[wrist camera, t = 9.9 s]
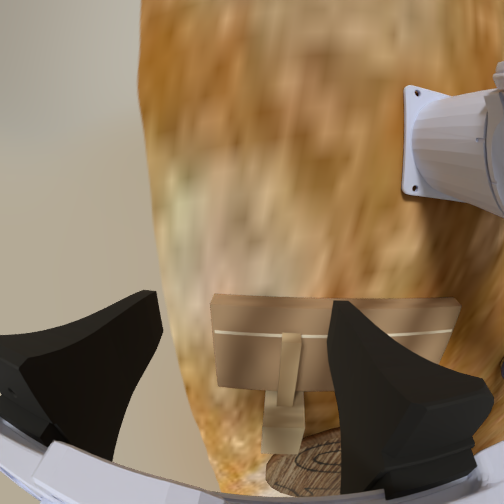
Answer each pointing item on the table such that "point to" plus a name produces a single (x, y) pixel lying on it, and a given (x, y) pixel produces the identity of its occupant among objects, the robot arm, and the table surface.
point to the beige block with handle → (285, 403)
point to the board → (314, 334)
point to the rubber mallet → (502, 367)
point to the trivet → (309, 467)
